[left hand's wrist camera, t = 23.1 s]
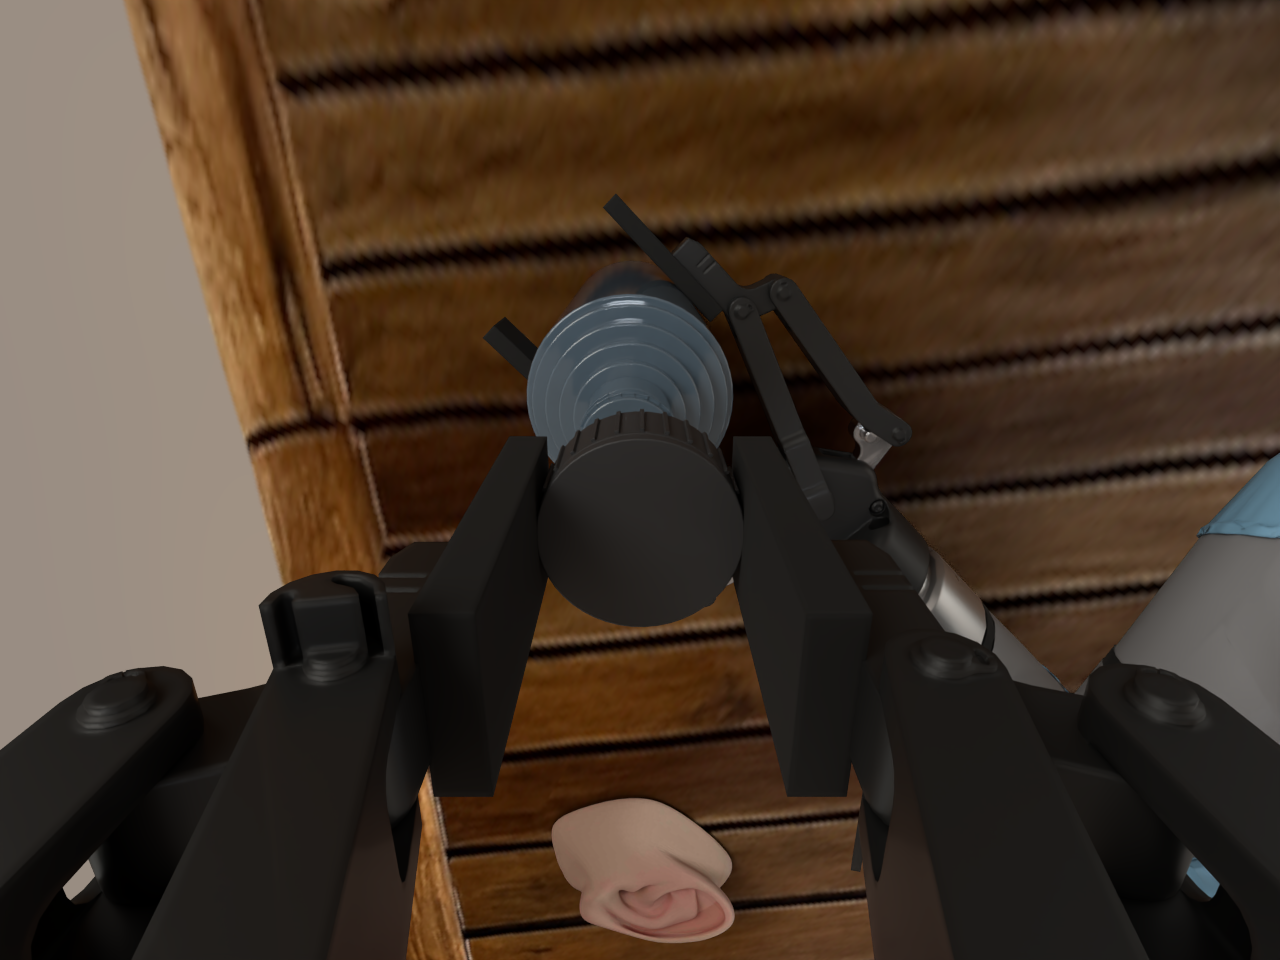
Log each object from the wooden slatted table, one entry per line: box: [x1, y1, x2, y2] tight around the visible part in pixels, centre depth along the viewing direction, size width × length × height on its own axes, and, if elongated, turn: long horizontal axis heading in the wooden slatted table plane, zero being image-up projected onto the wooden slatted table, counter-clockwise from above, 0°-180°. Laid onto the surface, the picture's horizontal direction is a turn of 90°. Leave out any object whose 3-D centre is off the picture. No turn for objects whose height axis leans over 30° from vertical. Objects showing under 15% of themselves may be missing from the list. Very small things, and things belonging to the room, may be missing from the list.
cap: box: [537, 409, 744, 627], centre depth 13 cm, size 4×4×2 cm
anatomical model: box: [552, 798, 734, 943], centre depth 50 cm, size 13×4×12 cm
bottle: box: [527, 261, 733, 463], centre depth 28 cm, size 7×7×21 cm
